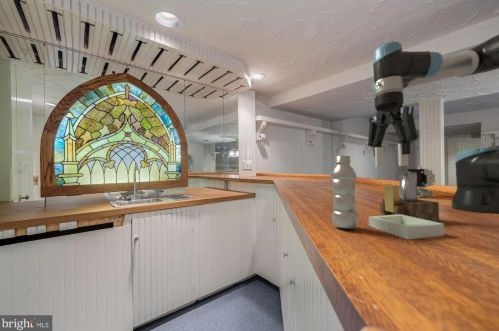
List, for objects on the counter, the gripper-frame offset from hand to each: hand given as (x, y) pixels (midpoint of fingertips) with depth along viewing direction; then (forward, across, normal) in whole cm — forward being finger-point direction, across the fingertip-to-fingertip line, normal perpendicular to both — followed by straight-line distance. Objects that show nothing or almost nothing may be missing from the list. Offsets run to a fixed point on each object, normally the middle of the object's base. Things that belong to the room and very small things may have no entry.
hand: (390, 166), depth 63 cm
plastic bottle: (+17, +3, -20) cm, 26 cm away
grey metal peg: (+17, 0, +6) cm, 18 cm away
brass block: (+14, 0, 0) cm, 14 cm away
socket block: (+17, 0, +5) cm, 18 cm away
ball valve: (+17, -37, +62) cm, 74 cm away
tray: (+17, +9, -6) cm, 20 cm away
